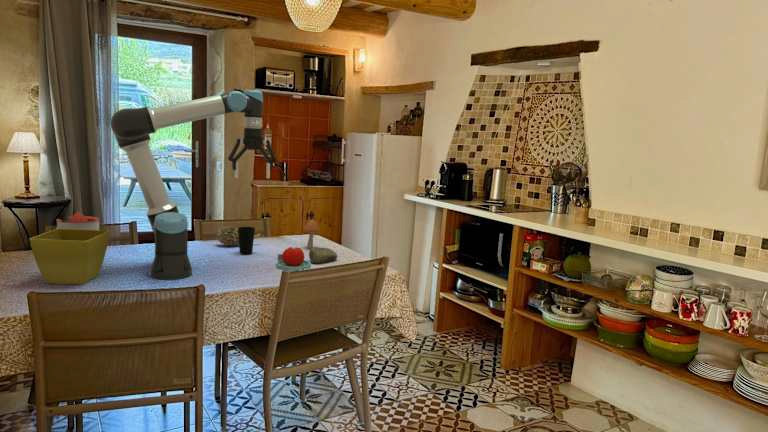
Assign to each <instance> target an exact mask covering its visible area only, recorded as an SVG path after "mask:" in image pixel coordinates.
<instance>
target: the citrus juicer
mask: <svg viewBox="0 0 768 432" xmlns="http://www.w3.org/2000/svg"><path fill="white" fill-rule="evenodd" d="M100 219H101V218H100V217H97V216H90V215H88V216H86V215H84V214H83V213H82V212H80V211H77V212H75V213H74V214H73V215H72V216H68V221H63V220H62V219H59V218H56V228H55V229H82V230H100Z"/></svg>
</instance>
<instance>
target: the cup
mask: <svg viewBox="0 0 768 432" xmlns="http://www.w3.org/2000/svg"><path fill="white" fill-rule="evenodd" d="M237 228H238V237H239V246H238V247H239V254H240V255H243V256H249V255H252V254H253V249H254V239H255V238H254V235H255V232H256V228H255V227H253V226H240V227H237Z"/></svg>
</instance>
